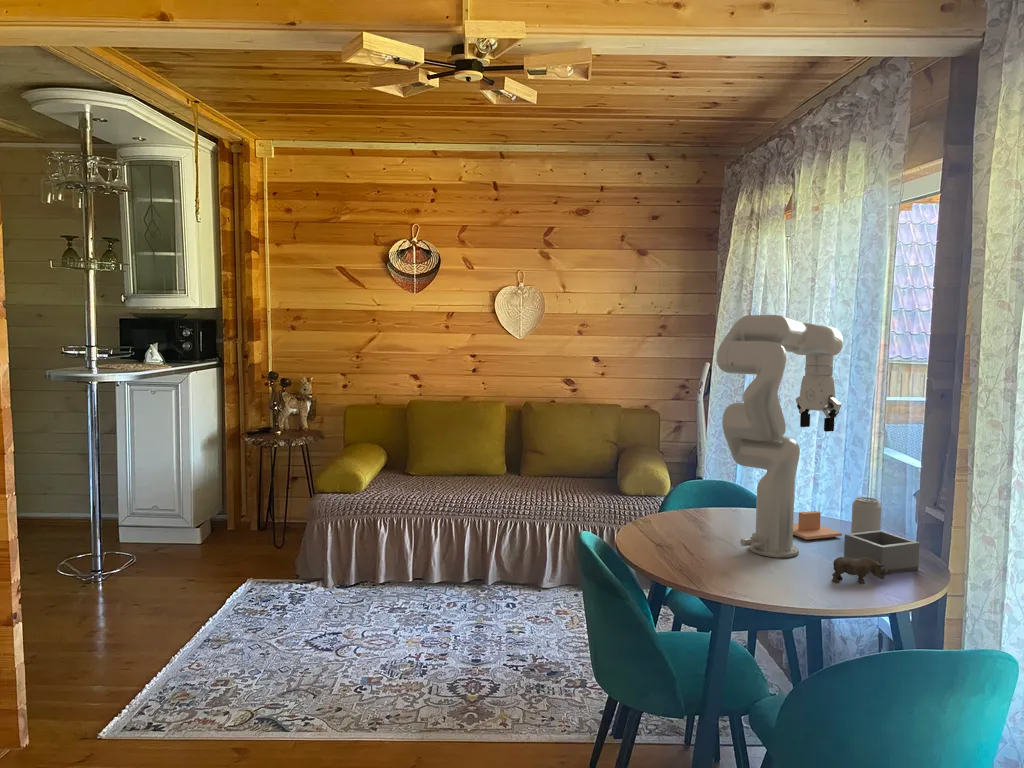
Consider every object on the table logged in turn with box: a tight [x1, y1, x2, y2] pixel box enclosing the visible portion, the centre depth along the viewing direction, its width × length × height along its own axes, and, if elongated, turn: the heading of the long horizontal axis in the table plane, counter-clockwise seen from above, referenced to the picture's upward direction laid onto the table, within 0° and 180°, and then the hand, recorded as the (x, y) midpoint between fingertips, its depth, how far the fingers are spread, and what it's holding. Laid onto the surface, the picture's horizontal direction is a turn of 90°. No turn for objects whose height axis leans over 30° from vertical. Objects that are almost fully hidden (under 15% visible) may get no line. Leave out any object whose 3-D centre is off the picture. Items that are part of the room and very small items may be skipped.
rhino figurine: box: [831, 556, 890, 585], centre depth 174 cm, size 4×14×6 cm, turn 86°
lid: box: [793, 510, 843, 541], centre depth 213 cm, size 12×12×7 cm
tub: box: [843, 529, 920, 575], centre depth 185 cm, size 12×12×7 cm
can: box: [850, 496, 882, 534], centre depth 207 cm, size 8×8×12 cm
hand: (816, 429), depth 217 cm, fingers open, 9 cm apart
